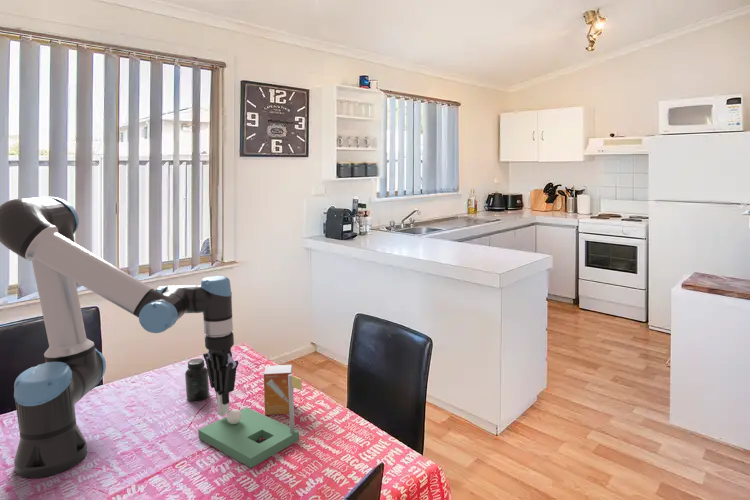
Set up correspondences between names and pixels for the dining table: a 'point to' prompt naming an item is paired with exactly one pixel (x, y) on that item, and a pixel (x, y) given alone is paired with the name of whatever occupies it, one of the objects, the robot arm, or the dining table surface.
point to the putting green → (253, 433)
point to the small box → (276, 389)
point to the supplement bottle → (197, 380)
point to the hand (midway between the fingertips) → (223, 413)
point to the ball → (234, 416)
